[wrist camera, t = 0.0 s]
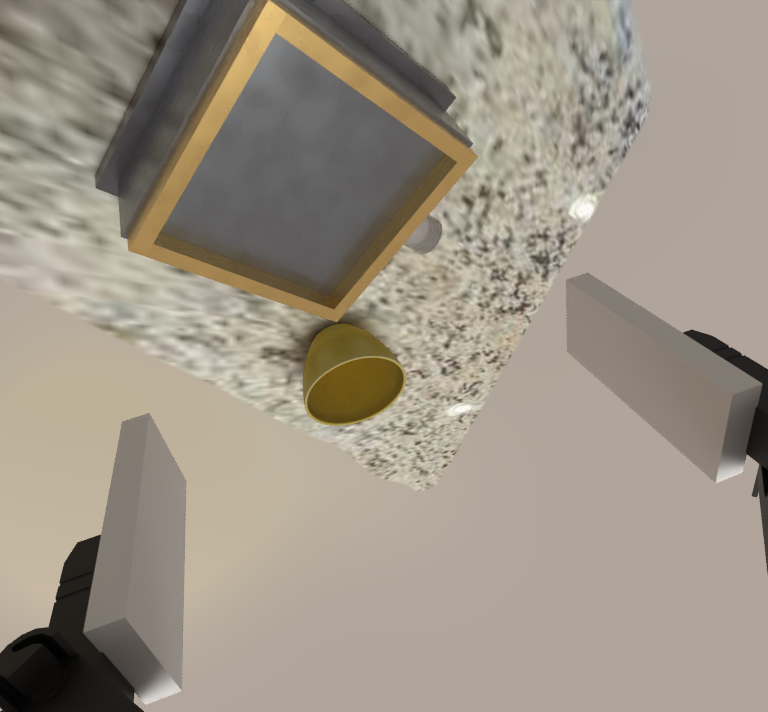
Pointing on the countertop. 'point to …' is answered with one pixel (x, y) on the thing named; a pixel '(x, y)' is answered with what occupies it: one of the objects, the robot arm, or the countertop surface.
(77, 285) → the countertop surface
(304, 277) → the grey gold-rimmed box
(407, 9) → the countertop surface
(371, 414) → the flower pot
